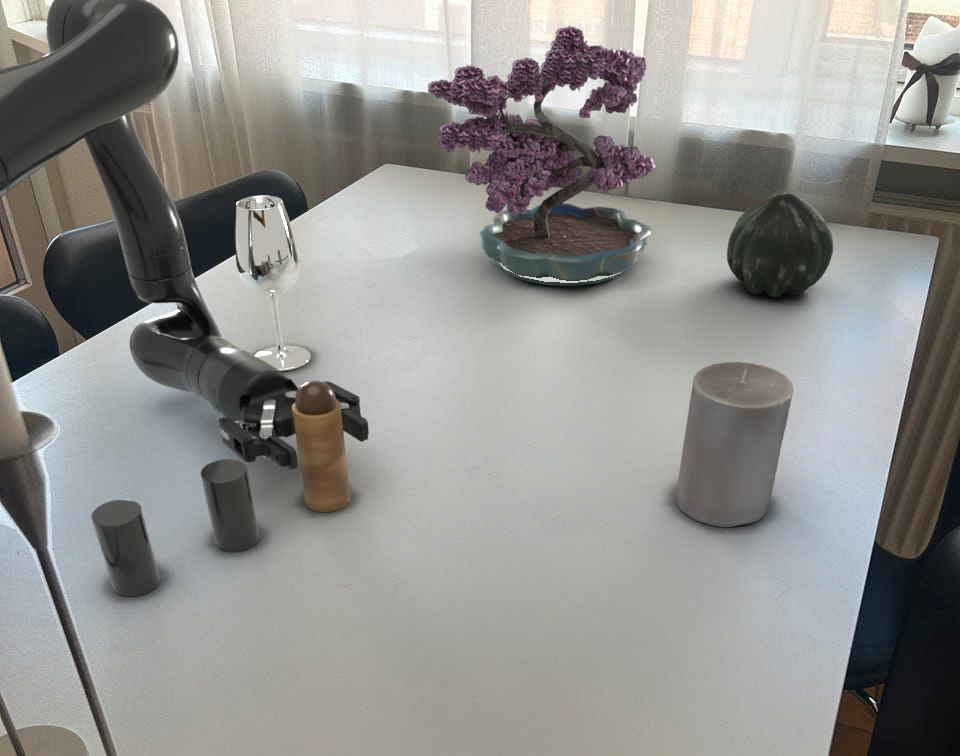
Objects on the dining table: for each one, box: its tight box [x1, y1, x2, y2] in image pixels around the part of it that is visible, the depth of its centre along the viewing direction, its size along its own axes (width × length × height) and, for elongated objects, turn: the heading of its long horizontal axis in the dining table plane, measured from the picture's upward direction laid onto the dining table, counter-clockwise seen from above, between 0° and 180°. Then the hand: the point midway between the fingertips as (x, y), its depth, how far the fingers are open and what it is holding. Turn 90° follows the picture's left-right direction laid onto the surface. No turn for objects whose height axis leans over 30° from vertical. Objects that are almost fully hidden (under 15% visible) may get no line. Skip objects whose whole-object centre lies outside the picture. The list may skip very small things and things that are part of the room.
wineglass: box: [234, 195, 312, 372], centre depth 126 cm, size 8×8×20 cm
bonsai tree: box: [427, 25, 657, 287], centre depth 148 cm, size 35×27×32 cm
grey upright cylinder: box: [200, 458, 260, 553], centre depth 98 cm, size 4×4×8 cm
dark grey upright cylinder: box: [90, 499, 161, 598], centre depth 93 cm, size 4×4×8 cm
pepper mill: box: [292, 380, 351, 513], centre depth 102 cm, size 5×5×14 cm
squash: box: [726, 191, 834, 298], centre depth 147 cm, size 14×15×15 cm
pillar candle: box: [675, 361, 794, 528], centre depth 101 cm, size 10×10×15 cm
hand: (330, 446), depth 100 cm, fingers open, 8 cm apart
